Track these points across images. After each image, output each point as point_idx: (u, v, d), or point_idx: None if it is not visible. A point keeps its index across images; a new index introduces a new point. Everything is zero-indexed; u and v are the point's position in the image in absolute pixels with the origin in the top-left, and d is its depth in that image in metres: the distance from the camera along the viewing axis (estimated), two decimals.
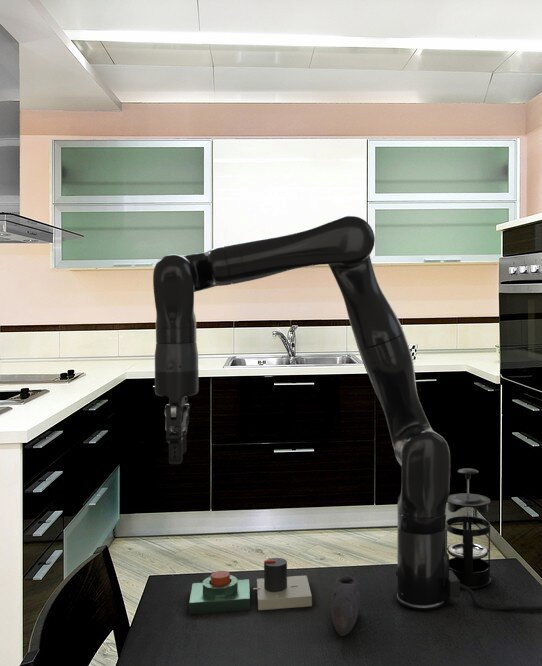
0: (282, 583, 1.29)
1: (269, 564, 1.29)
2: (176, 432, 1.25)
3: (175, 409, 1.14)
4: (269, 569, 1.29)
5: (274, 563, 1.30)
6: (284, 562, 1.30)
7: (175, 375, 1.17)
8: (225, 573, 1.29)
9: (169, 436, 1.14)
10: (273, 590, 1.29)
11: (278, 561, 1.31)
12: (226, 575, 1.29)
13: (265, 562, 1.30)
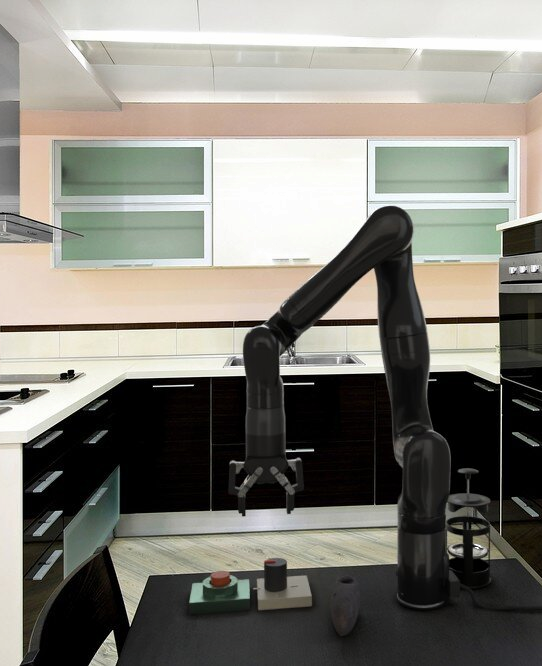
0: (282, 583, 1.29)
1: (269, 564, 1.29)
2: (287, 491, 1.31)
3: None
4: (269, 569, 1.29)
5: (274, 563, 1.30)
6: (284, 562, 1.30)
7: None
8: (225, 573, 1.29)
9: None
10: (273, 590, 1.29)
11: (278, 561, 1.31)
12: (226, 575, 1.29)
13: (265, 562, 1.30)
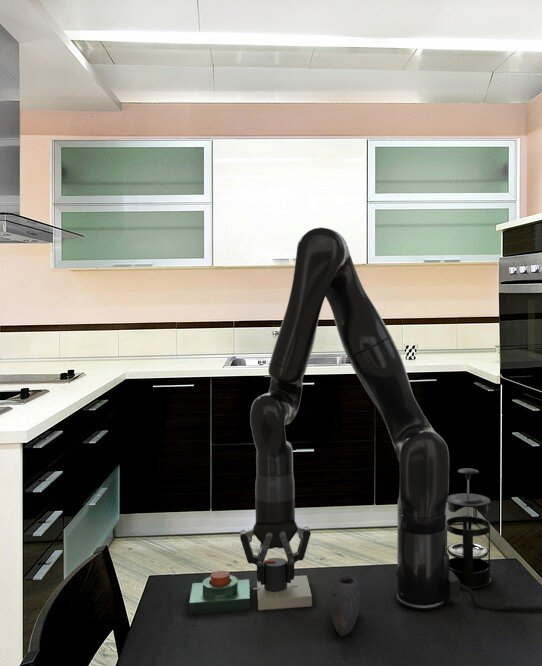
0: (282, 583, 1.29)
1: (269, 564, 1.29)
2: None
3: None
4: (269, 569, 1.29)
5: (274, 563, 1.30)
6: (284, 562, 1.30)
7: (255, 501, 1.30)
8: (225, 573, 1.29)
9: None
10: (273, 590, 1.29)
11: (278, 561, 1.31)
12: (226, 575, 1.29)
13: (265, 562, 1.30)
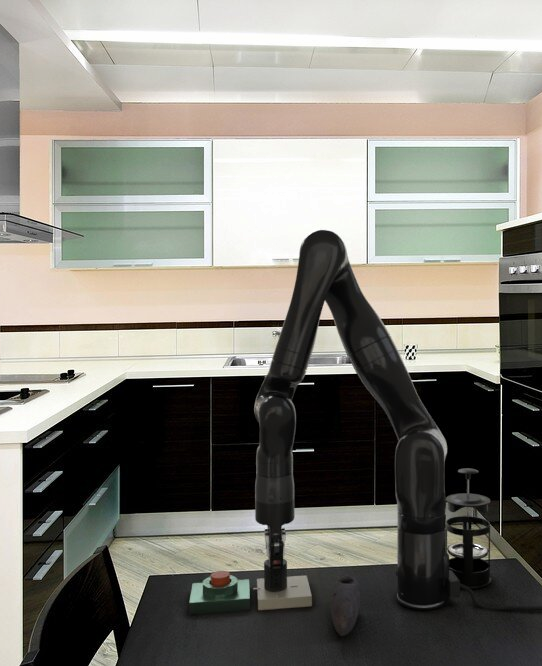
0: None
1: None
2: None
3: (278, 546, 1.24)
4: (285, 567, 1.30)
5: (279, 562, 1.31)
6: None
7: (276, 506, 1.27)
8: (225, 573, 1.29)
9: (272, 567, 1.25)
10: (286, 586, 1.31)
11: None
12: (226, 575, 1.29)
13: None
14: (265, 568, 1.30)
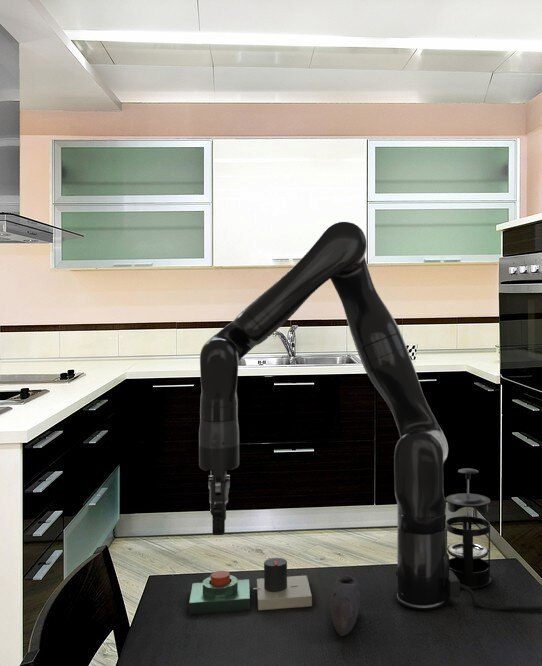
0: None
1: (281, 563, 1.30)
2: None
3: (219, 485, 1.22)
4: (285, 567, 1.30)
5: (279, 562, 1.31)
6: (277, 558, 1.33)
7: (219, 451, 1.25)
8: (225, 573, 1.29)
9: (214, 510, 1.22)
10: (286, 586, 1.31)
11: (274, 560, 1.31)
12: (226, 575, 1.29)
13: (277, 564, 1.29)
14: (265, 568, 1.30)
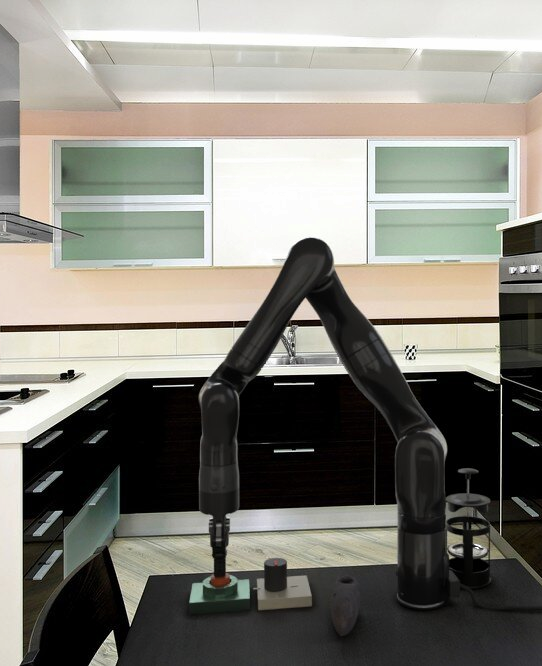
0: None
1: (281, 563, 1.30)
2: None
3: (220, 542, 1.23)
4: (285, 567, 1.30)
5: (279, 562, 1.31)
6: (277, 558, 1.33)
7: (219, 496, 1.25)
8: (225, 575, 1.29)
9: (215, 554, 1.26)
10: (286, 586, 1.31)
11: (274, 560, 1.31)
12: (226, 577, 1.29)
13: (277, 564, 1.29)
14: (265, 568, 1.30)
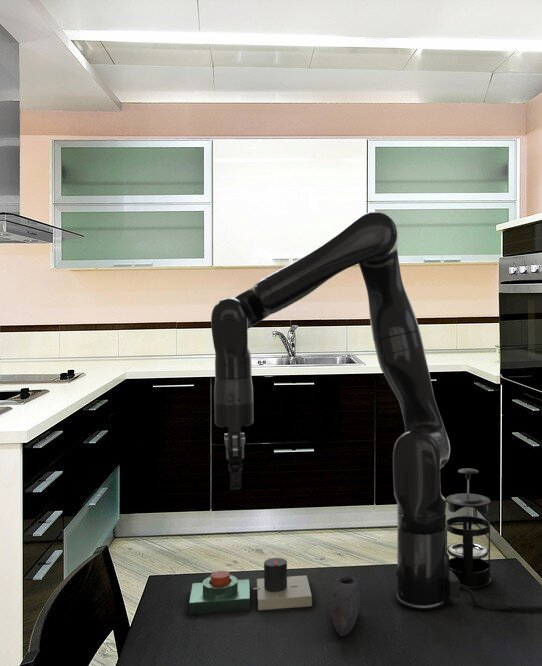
0: None
1: (281, 563, 1.30)
2: None
3: (237, 452, 1.26)
4: (285, 567, 1.30)
5: (279, 562, 1.31)
6: (277, 558, 1.33)
7: (234, 408, 1.28)
8: (225, 573, 1.29)
9: (231, 465, 1.29)
10: (286, 586, 1.31)
11: (274, 560, 1.31)
12: (226, 575, 1.29)
13: (277, 564, 1.29)
14: (265, 568, 1.30)
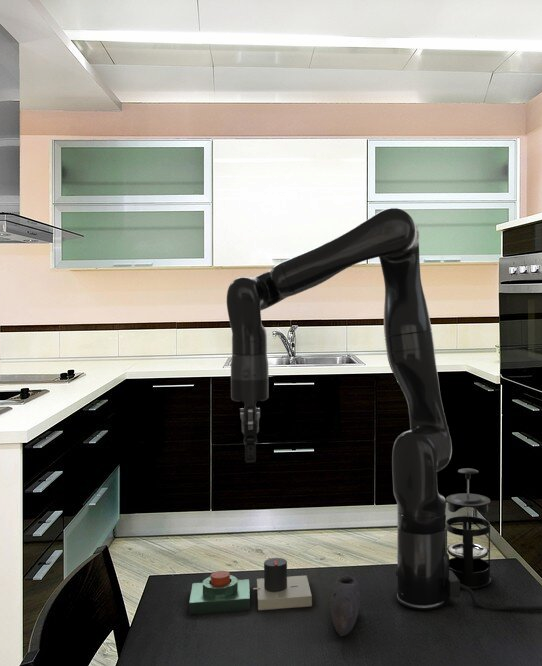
0: None
1: (281, 563, 1.30)
2: None
3: (252, 425, 1.31)
4: (285, 567, 1.30)
5: (279, 562, 1.31)
6: (277, 558, 1.33)
7: (250, 383, 1.33)
8: (225, 573, 1.29)
9: (247, 438, 1.34)
10: (286, 586, 1.31)
11: (274, 560, 1.31)
12: (226, 575, 1.29)
13: (277, 564, 1.29)
14: (265, 568, 1.30)
